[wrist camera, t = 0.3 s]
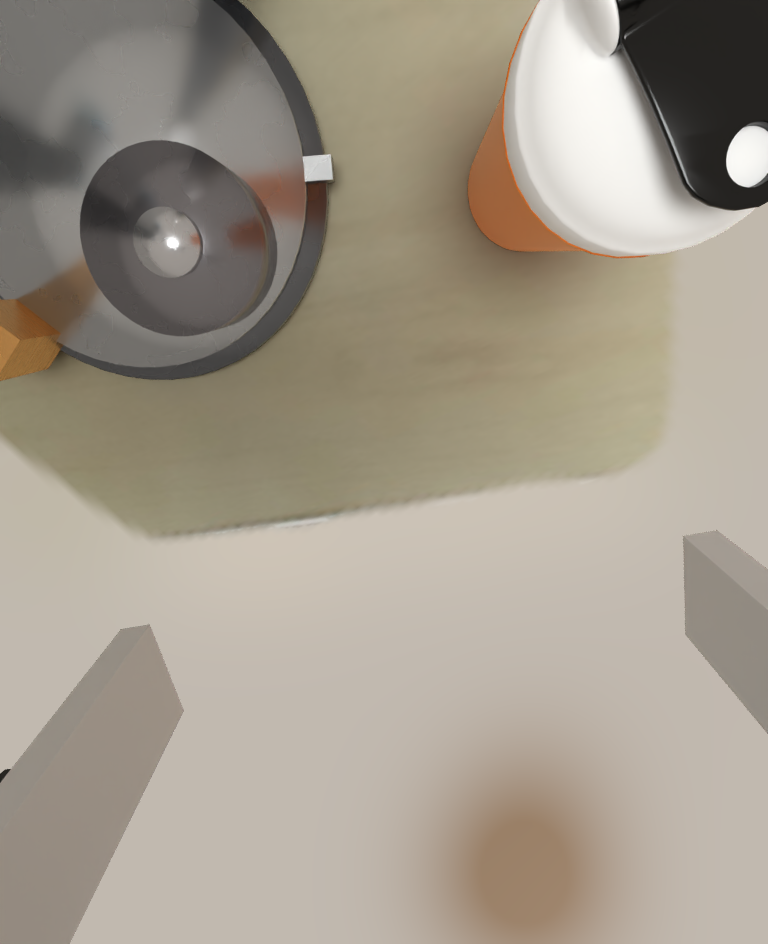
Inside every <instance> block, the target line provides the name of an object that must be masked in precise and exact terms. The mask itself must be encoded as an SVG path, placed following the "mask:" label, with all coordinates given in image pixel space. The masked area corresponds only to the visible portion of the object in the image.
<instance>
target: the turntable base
mask: <svg viewBox="0 0 768 944" xmlns="http://www.w3.org/2000/svg"><path fill="white" fill-rule="evenodd" d="M213 1H214V2H215V3H217V4H218V5H219V6H220V7H221V8H222V9H224V10H225V11H226V12H227V13H228V14H229V15H230V16H231V17H232V18H233V19H234V20H235V21H236V22H237V24H238V25H239V26H240V27H241V28H242V29H243V30H244V31H245V32H246V34H247V35H248V36H249V37H250V38H251V40H252V41H253V43H254V44H255V45H256V47H257V48H258V50H259V51H260V53H261V54H262V55H263V57H264V58H265V60H266V61H267V63H268V65H269V66H270V68H271V70H272V72H273V73H274V75H275V77H276V79H277V81H278V83H279V84H280V86H281V88H282V90H283V92H284V93H285V96H286V98H287V101H288V103H289V105H290V108H291V110H292V113H293V115H294V118H295V120H296V124H297V127H298V131H299V134H300V138H301V141H302V145H303V150H304V156H316V155H324V149H323V145H322V141H321V138H320V134H319V130H318V127H317V123H316V119H315V117H314V114H313V112H312V109H311V107H310V104H309V102H308V99H307V97H306V94H305V92H304V90H303V87H302V85H301V84H300V82H299V80H298V78H297V76H296V74H295V72H294V71H293V69H292V67H291V65H290V63H289V61H288V59H287V58H286V56H285V55H284V54H283V52H282V51H281V49H280V48H279V46H278V45H277V44H276V42H275V41H274V39H273V38H272V36H271V35H270V34H269V32H268V31H267V30H266V29H265V28H264V27H263V26H262V25H261V23H260V22H259V21H258V20H257V19H256V18H255V17H254V16H253V14H252V13H251V12H250V11H249V10H248V9H247V8H246V7H245V6H243V5H242V4H241V3H240V2H239V1H238V0H213ZM327 214H328V183H321V184H308V210H307V224H306V229H305V234H304V239H303V244H302V248H301V251H300V254H299V257H298V260H297V263H296V266H295V269H294V272H293V274H292V276H291V278H290V280H289V282H288V284H287V286H286V288H285V290H284V291H283V293H282V294H281V296H280V298H279V299H278V301H277V302H276V304H275V305H274V307H273V308H272V309H271V310H270V311H269V313H268V314H267V315H266V316H265V317H264V318H263V319H262V320H261V322H260V323H259V324H258V325H256V326H255V327H254V328H253V329H252V330H251V331H249V332H248V333H247V334H246V335H245V336H244V337H242V338H241V339H239V340H237V341H236V342H234V343H233V344H231V345H229V346H228V347H226V348H224V349H222V350H220V351H217V352H215V353H213V354H211V355H208V356H206V357H204V358H201V359H198V360H194V361H191V362H187V363H184V364H179V365H172V366H165V367H133V366H125V365H117V364H113V363H109V362H106V361H102V360H98V359H94V358H92V357H89V356H87V355H84V354H82V353H79V352H77V351H74V350H72V349H70V348H68V347H66V346H65V345H63V347H62V348H61V351H63V352H65V353H67V354H68V355H70V356H72V357H74V358H76V359H78V360H80V361H82V362H84V363H86V364H89V365H92V366H94V367H97V368H99V369H102V370H104V371H108V372H112V373H116V374H120V375H124V376H127V377H135V378H143V379H179V378H187V377H194V376H198V375H201V374H205V373H208V372H212V371H216V370H218V369H220V368H222V367H225V366H227V365H229V364H231V363H234V362H236V361H238V360H240V359H241V358H243V357H245V356H246V355H248V354H249V353H251V352H253V351H254V350H256V349H257V348H259V347H260V346H261V345H262V344H264V343H265V342H266V341H267V340H268V339H270V338H271V337H272V336H273V335H274V334H275V333H276V332H277V331H278V330H279V329H280V328H281V327H282V325H283V324H284V323H285V322H286V321H287V320H288V319H289V318H290V316H291V315H292V313H293V312H294V310H295V309H296V307H297V306H298V304H299V303H300V301H301V300H302V298H303V296H304V294H305V292H306V290H307V288H308V286H309V284H310V282H311V280H312V278H313V276H314V273H315V270H316V267H317V264H318V261H319V258H320V256H321V252H322V247H323V242H324V237H325V233H326V225H327ZM0 298H1V300H4V298H3V297H2V296H1V295H0Z"/></svg>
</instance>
